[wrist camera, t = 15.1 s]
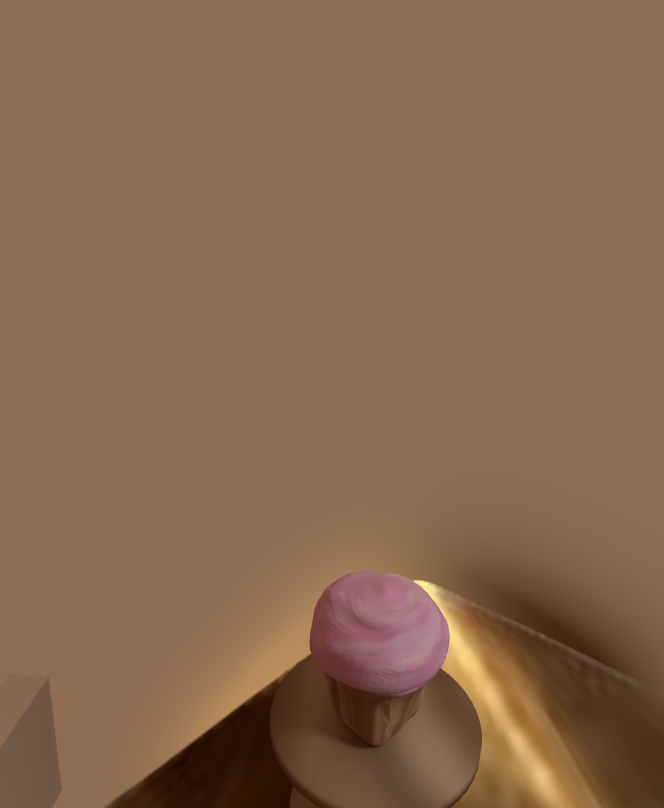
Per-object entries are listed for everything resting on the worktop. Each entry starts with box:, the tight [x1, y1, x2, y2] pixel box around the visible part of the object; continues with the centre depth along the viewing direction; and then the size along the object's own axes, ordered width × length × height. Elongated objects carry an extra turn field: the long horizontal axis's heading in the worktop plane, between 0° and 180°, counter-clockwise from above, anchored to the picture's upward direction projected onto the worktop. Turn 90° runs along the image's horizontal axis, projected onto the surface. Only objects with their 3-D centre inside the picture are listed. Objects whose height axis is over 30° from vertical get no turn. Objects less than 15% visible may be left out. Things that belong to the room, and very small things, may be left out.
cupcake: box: [310, 571, 449, 746], centre depth 38 cm, size 9×9×10 cm
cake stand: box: [270, 656, 482, 808], centre depth 41 cm, size 14×14×9 cm
